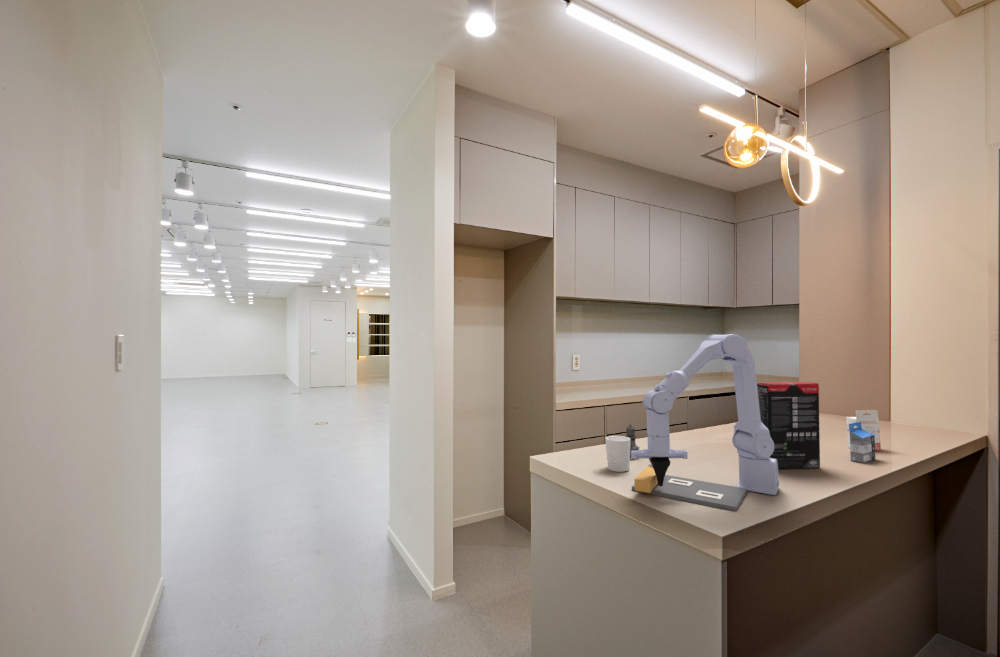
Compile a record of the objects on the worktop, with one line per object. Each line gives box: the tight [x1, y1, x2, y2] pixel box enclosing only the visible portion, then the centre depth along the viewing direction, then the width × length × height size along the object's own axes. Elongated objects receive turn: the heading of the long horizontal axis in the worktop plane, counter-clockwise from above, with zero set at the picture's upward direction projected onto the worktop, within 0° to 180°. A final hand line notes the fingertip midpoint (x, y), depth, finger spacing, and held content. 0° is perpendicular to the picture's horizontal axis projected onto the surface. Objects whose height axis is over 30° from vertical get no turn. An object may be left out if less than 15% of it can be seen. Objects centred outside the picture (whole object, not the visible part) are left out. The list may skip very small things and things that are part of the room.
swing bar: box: [634, 463, 658, 494], centre depth 122 cm, size 17×4×3 cm, turn 147°
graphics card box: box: [757, 381, 821, 469], centre depth 140 cm, size 17×7×27 cm, turn 92°
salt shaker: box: [625, 423, 640, 458], centre depth 155 cm, size 6×6×12 cm
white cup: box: [604, 435, 631, 473], centre depth 141 cm, size 8×8×10 cm
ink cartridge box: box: [845, 409, 882, 452], centre depth 160 cm, size 9×5×15 cm, turn 90°
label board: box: [631, 474, 748, 512], centre depth 119 cm, size 26×16×1 cm, turn 52°
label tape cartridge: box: [849, 421, 877, 464], centre depth 146 cm, size 9×4×12 cm, turn 119°
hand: (660, 485), depth 118 cm, fingers closed
